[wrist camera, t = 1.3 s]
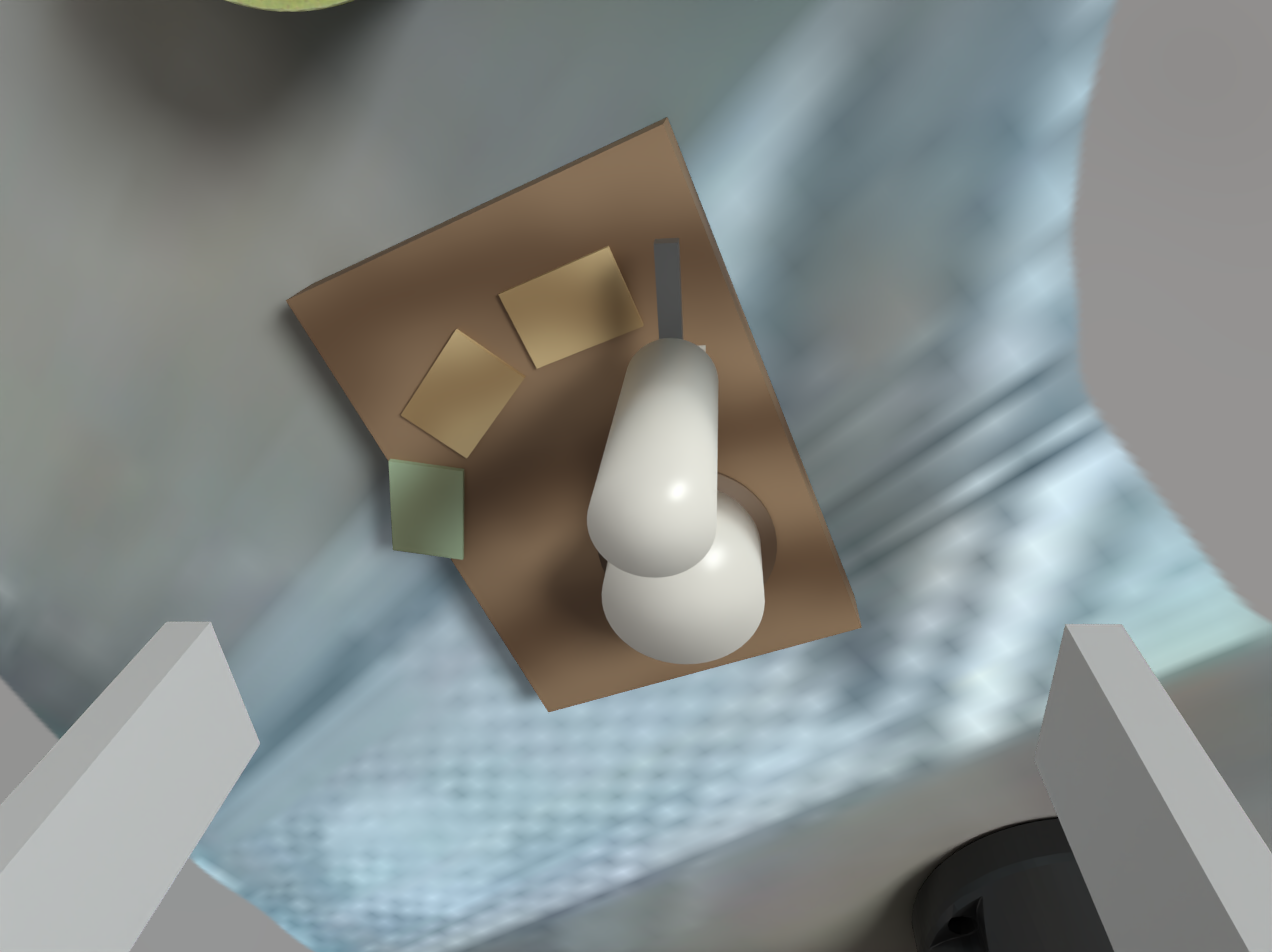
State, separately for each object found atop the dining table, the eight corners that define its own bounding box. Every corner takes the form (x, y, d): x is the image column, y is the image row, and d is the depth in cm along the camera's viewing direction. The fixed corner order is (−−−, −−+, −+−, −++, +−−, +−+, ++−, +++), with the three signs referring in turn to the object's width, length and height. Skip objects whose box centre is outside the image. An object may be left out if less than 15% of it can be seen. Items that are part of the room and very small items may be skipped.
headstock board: (854, 596, 34) (862, 630, 32) (521, 690, 38) (510, 725, 37) (667, 116, 26) (662, 124, 24) (270, 303, 30) (240, 322, 28)
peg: (760, 607, 32) (777, 858, 23) (618, 607, 33) (575, 851, 23) (762, 219, 25) (786, 342, 16) (581, 228, 26) (497, 352, 16)
